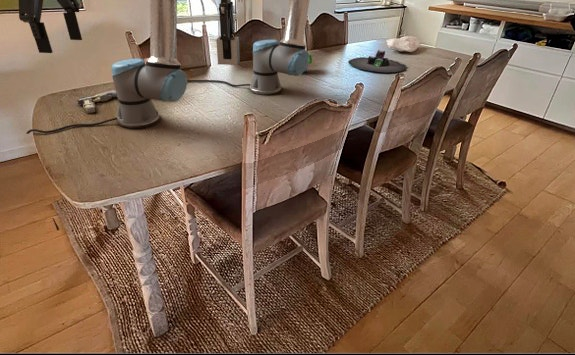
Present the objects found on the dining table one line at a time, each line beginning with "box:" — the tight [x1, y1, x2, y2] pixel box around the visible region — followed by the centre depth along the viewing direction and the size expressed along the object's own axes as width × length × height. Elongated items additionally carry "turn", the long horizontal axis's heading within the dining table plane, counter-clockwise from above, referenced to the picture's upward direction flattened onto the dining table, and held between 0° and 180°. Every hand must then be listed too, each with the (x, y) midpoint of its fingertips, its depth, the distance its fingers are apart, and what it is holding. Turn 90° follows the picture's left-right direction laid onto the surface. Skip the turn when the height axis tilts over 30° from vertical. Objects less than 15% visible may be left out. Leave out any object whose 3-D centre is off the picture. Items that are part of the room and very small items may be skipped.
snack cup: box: [302, 51, 313, 74], centre depth 203 cm, size 16×10×10 cm
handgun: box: [76, 89, 118, 114], centre depth 155 cm, size 3×18×15 cm
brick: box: [215, 35, 241, 66], centre depth 129 cm, size 6×7×8 cm
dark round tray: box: [347, 49, 407, 74], centre depth 221 cm, size 35×35×9 cm
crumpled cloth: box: [385, 35, 422, 53], centre depth 256 cm, size 24×35×9 cm
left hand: (62, 45), depth 90 cm, fingers open, 13 cm apart
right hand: (228, 56), depth 130 cm, fingers closed on brick, 6 cm apart
